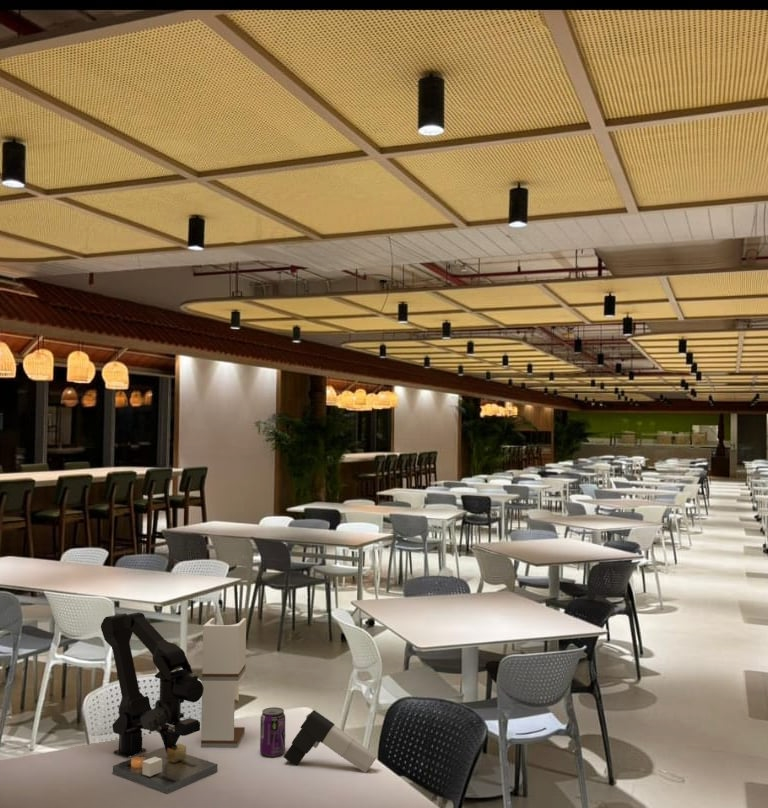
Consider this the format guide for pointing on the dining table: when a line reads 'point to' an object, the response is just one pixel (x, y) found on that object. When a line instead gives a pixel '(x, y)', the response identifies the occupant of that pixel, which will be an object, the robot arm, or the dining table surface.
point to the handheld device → (328, 742)
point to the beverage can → (272, 731)
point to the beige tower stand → (222, 683)
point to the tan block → (176, 753)
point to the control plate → (168, 771)
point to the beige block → (152, 766)
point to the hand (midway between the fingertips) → (169, 753)
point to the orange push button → (137, 762)
